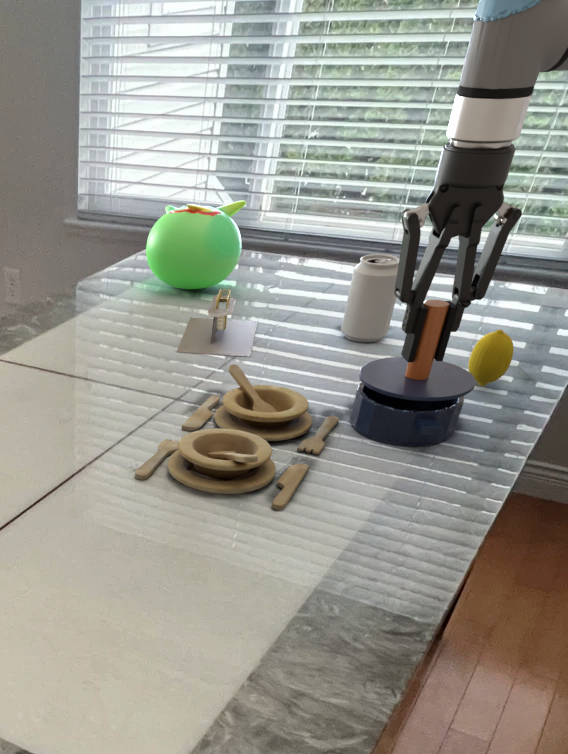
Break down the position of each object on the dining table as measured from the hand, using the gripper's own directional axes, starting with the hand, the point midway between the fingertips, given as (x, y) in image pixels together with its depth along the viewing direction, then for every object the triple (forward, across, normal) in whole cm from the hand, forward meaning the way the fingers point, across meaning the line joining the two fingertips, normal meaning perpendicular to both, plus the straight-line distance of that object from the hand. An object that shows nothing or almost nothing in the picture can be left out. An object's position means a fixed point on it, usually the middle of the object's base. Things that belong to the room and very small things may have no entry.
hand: (421, 357), depth 109 cm
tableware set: (+9, +23, +6) cm, 26 cm away
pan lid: (+3, 0, 0) cm, 3 cm away
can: (+9, -5, -36) cm, 37 cm away
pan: (+9, 0, 0) cm, 9 cm away
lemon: (+9, -16, -13) cm, 23 cm away
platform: (+9, +19, -38) cm, 44 cm away
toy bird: (+9, +20, -67) cm, 71 cm away
